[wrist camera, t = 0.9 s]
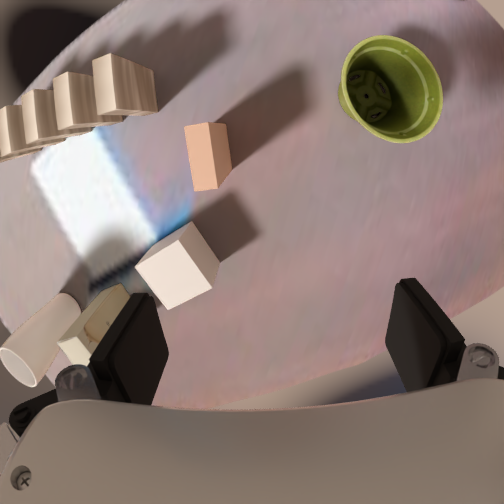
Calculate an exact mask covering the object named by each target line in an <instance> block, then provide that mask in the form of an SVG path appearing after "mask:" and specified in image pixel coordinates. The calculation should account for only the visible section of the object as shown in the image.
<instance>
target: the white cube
mask: <svg viewBox="0 0 504 504" xmlns="http://www.w3.org/2000/svg"><path fill="white" fill-rule="evenodd" d="M219 265H220V262H219V260H218V259H217V257H216V256H215V254H214V253H213V251H212V250H211V249H210V247H209V246H208V244H207V243H206V241H205V240H204V238H203V237H202V235H201V234H200V232H199V231H198V229H197V228H196V226H195V225H194V223H193V222H192V221H191V222H189V223H188V224H186V225H184V226H183V227H181V228H180V229H178V230H176V231H175V232H173V233H171V234H170V235H168V236H167V237H165V238H164V239H162V240H160V241H159V242H157V243H156V244H154V245H153V246H152V247H151V248H150V249H149V250H148V252H147V253H146V254H145V255H144V256H143V257H142V259H141V260H140V261H139V262H138V263H137V265H136V266H135V268H136V269H137V271H138V272H139V273H140V275H141V276H142V277H143V279H144V280H145V281H146V283H147V284H148V285H149V287H150V288H151V289H152V290H153V292H154V293H155V294H156V296H157V297H158V298H159V299H160V301H161V302H162V303H163V304H164V306H165V307H166V308H167V309H168V310H169V309H171V308H173V307H175V306H177V305H179V304H181V303H183V302H185V301H187V300H189V299H191V298H193V297H195V296H197V295H199V294H201V293H203V292H205V291H207V290H209V289H211V288H212V287H213V284H214V281H215V278H216V274H217V271H218V268H219Z"/></svg>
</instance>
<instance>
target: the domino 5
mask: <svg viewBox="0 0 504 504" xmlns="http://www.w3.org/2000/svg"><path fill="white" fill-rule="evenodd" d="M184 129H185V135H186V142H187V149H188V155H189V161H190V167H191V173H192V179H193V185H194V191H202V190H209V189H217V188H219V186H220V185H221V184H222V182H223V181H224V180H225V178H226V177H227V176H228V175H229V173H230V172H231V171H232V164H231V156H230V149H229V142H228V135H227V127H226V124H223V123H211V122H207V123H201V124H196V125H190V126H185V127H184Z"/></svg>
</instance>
